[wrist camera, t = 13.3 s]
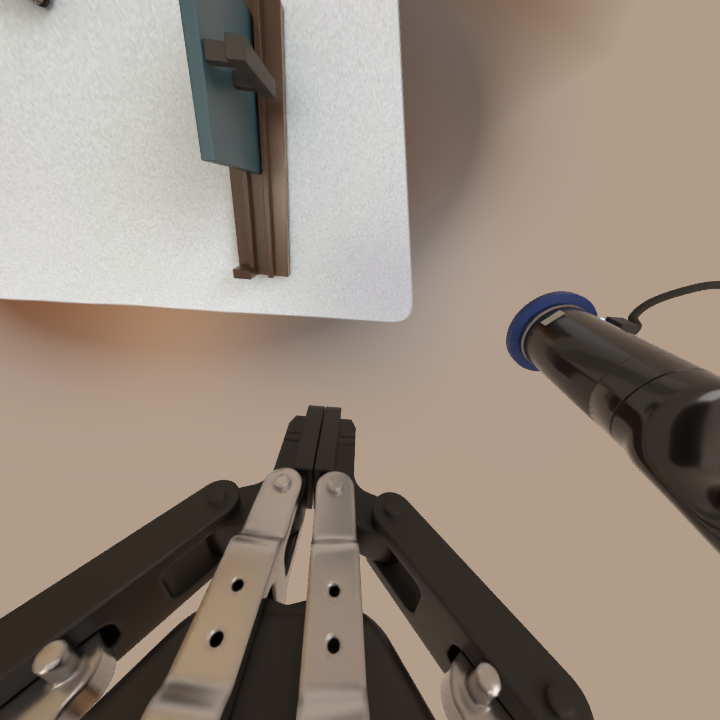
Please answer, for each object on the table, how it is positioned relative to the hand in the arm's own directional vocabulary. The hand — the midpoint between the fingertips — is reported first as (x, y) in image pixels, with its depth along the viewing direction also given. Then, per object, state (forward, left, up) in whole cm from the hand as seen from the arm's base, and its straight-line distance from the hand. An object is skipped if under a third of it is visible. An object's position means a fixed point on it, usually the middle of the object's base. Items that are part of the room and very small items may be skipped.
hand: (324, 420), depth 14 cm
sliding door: (+9, -17, -27) cm, 33 cm away
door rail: (+10, -12, -28) cm, 32 cm away
